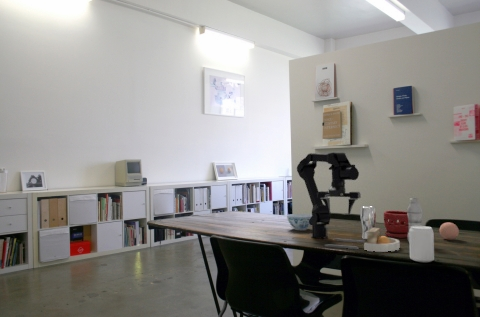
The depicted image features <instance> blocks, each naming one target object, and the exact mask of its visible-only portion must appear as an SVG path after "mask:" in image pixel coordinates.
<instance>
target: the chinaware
mask: <svg viewBox="0 0 480 317" xmlns="http://www.w3.org/2000/svg"><path fill="white" fill-rule="evenodd" d="M286 217H287V222H288V223H289V224H290V225H291V227H293V228H294V231H307V230H308V228H309V227H310V226H311V225H310V224H309V220H310V218H311V217H312V214H310V213H309V214H308V213H292V214H287V215H286Z"/></svg>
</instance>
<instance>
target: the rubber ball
mask: <svg viewBox="0 0 480 317" xmlns="http://www.w3.org/2000/svg"><path fill="white" fill-rule="evenodd" d="M387 237H388V236H387V235H386V236H385V235H381V236H380V237H379V238H378V240H377V243H378V244H389V243H390V240H389V239H388V238H389V237H388V238H387Z"/></svg>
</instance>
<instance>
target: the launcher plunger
mask: <svg viewBox="0 0 480 317" xmlns="http://www.w3.org/2000/svg"><path fill="white" fill-rule="evenodd" d="M380 232H381V231H380V227H375V228H371V229H370V230H369V231H367V239H366V243H373V244H378V243H377V240H378V238H379V237H380V234H381V233H380Z"/></svg>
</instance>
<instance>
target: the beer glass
mask: <svg viewBox="0 0 480 317" xmlns="http://www.w3.org/2000/svg"><path fill="white" fill-rule="evenodd" d="M376 217H377V215H376V207H375V206H371V205H370V206H360V222H361V227H362V234H361V239H362V240H367V231H369V230H370V229H371V228H376V221H377V218H376Z"/></svg>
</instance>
